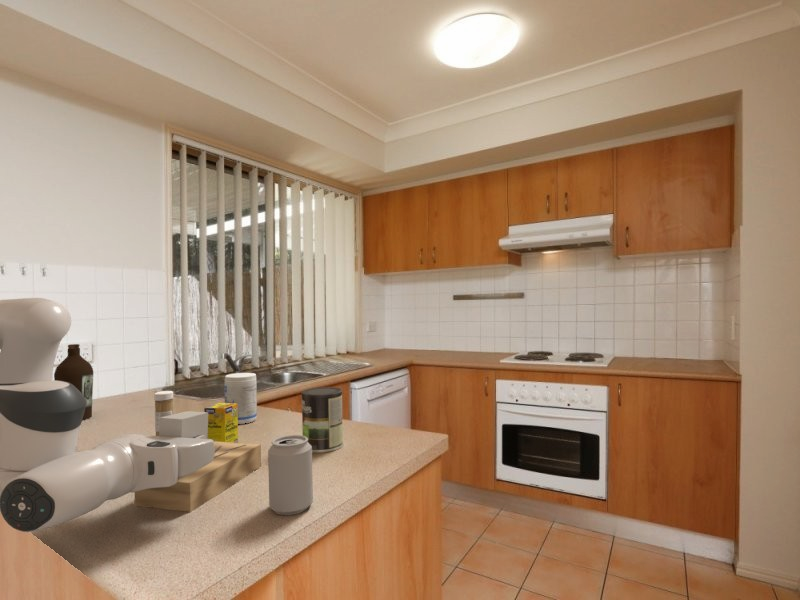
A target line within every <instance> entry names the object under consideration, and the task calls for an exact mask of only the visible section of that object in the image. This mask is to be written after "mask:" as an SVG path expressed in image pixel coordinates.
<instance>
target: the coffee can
mask: <svg viewBox="0 0 800 600" xmlns="http://www.w3.org/2000/svg"><path fill="white" fill-rule="evenodd" d="M300 393H301V394H300V395H301V415H302V416H301V418H302V419H301V421H302V424H301V425H302V436H305V437H307V438H308V441H307V442H308V443H309V444H310V445H311V446H312V454H313V453H316V454H323V453H331V452H334V451H337V450H339V449H341V448H343V446H344V442H343V441H344V440H343V438H344V437H343V435H344V434H343V430H344V429H343V389H342V388H340V387H335V386H333V387H332V386H321V387H312V388H307V389H304V390H302V391H301V392H300Z"/></svg>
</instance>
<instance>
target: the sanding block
mask: <svg viewBox="0 0 800 600" xmlns="http://www.w3.org/2000/svg"><path fill="white" fill-rule="evenodd" d="M197 435H205V436H206V439H207V438H208V412H204V411H190V410H188V411H183V412H178V413H173V415H169V416H165V417H161V418H160V420H159V436H166V437H182V438H193V437H194V436H197Z"/></svg>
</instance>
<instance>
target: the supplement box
mask: <svg viewBox="0 0 800 600" xmlns="http://www.w3.org/2000/svg"><path fill="white" fill-rule="evenodd" d="M203 412H208V438H207V439H212V440H213V441H216V442H233V443H239V425H238V404H237V403H225V402H217V403H216V404H215V403H214V404H212V405H210V406H206V407H204V408H203Z"/></svg>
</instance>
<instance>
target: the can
mask: <svg viewBox="0 0 800 600" xmlns="http://www.w3.org/2000/svg"><path fill="white" fill-rule="evenodd" d="M307 441H308V438H307V437H305V436H303V434H302V435H301V434H300V435H299V434H291V435H289V434H288V435H283V436H279V437H276V438H275V439H273V440H272V441H271V446H270V447H269V448H268V451H267V457H268V459H267V460H268V463H267V464H268V465H267V466H268V467H267V468H268V505H269V508H270V509H271V510H272V511H274V512H275V514H277V515H280V516H282V515H283V516H285V515H286V516H291V515H297V514H300V513H302V512H304V511H305V510H307V509H308V508H309V506H310V505H311V504H312V503H313V501H314V485H313V484H314V481H313V452H312V446H311V445H310V444H309V443H308V442H307Z"/></svg>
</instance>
